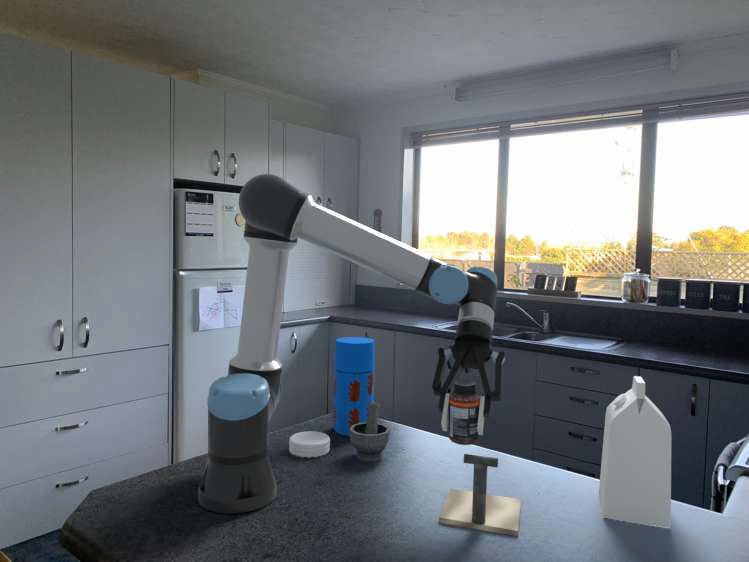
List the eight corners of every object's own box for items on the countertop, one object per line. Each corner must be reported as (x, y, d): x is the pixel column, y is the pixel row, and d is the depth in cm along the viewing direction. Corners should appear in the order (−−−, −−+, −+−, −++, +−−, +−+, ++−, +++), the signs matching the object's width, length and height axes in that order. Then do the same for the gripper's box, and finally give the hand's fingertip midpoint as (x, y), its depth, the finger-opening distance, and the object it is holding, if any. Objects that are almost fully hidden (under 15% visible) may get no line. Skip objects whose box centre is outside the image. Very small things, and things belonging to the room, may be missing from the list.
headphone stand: (439, 523, 100) (441, 453, 100) (450, 493, 113) (453, 430, 112) (517, 537, 96) (520, 464, 96) (521, 504, 109) (523, 439, 108)
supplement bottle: (458, 433, 109) (459, 377, 108) (485, 440, 105) (486, 381, 104) (442, 441, 104) (443, 382, 104) (470, 448, 101) (471, 388, 100)
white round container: (280, 451, 134) (280, 437, 134) (308, 441, 142) (309, 427, 142) (310, 462, 128) (310, 447, 128) (338, 450, 136) (338, 436, 136)
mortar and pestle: (385, 466, 126) (386, 415, 125) (345, 462, 128) (346, 412, 127) (392, 449, 137) (393, 402, 136) (355, 445, 139) (356, 399, 138)
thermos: (380, 428, 152) (382, 339, 151) (358, 439, 143) (361, 345, 142) (348, 421, 158) (350, 335, 157) (325, 431, 149) (327, 340, 148)
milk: (670, 529, 100) (678, 390, 99) (602, 518, 104) (609, 383, 103) (659, 501, 112) (666, 375, 110) (598, 492, 115) (605, 370, 114)
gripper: (521, 341, 115) (515, 444, 101) (433, 337, 121) (415, 433, 107) (520, 320, 110) (513, 425, 95) (428, 316, 116) (408, 414, 101)
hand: (461, 429), depth 101 cm, fingers closed on supplement bottle, 6 cm apart
